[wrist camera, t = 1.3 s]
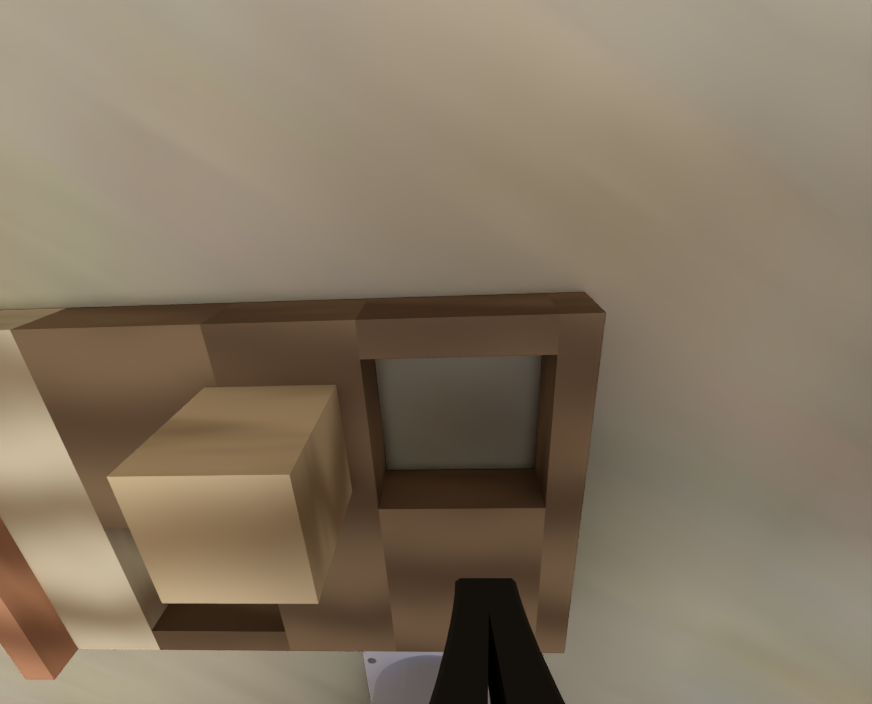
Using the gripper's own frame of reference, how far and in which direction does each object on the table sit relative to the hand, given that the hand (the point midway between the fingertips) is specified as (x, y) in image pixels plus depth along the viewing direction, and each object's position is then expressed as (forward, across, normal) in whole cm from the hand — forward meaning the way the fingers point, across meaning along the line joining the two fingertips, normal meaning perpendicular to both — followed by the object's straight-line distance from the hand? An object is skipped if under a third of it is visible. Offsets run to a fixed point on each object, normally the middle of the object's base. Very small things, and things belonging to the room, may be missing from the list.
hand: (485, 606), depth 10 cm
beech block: (+7, +8, 0) cm, 10 cm away
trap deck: (+9, +9, +4) cm, 14 cm away
